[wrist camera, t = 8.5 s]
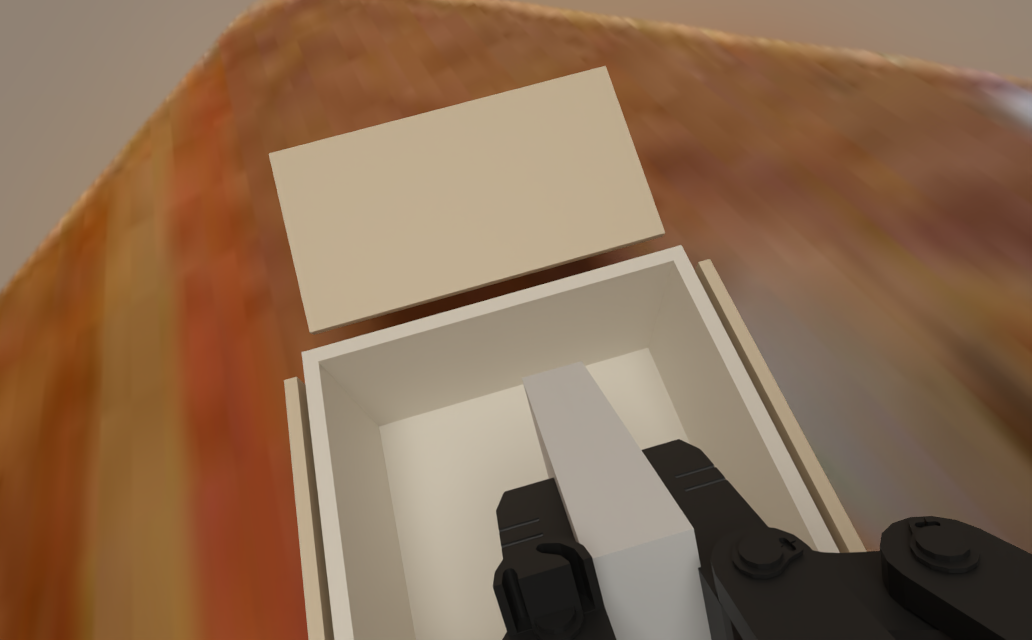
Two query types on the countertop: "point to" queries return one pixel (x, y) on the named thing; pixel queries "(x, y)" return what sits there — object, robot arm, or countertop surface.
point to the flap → (461, 198)
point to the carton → (520, 437)
